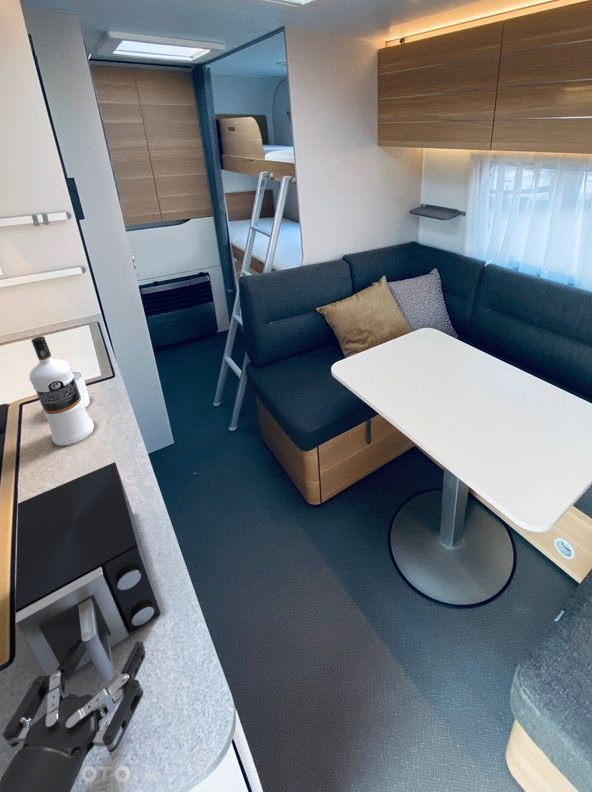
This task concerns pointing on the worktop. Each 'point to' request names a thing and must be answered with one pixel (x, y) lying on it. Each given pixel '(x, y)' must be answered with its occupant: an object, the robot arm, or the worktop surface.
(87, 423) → the vodka
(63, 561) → the microwave
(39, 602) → the microwave door
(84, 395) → the white cup
